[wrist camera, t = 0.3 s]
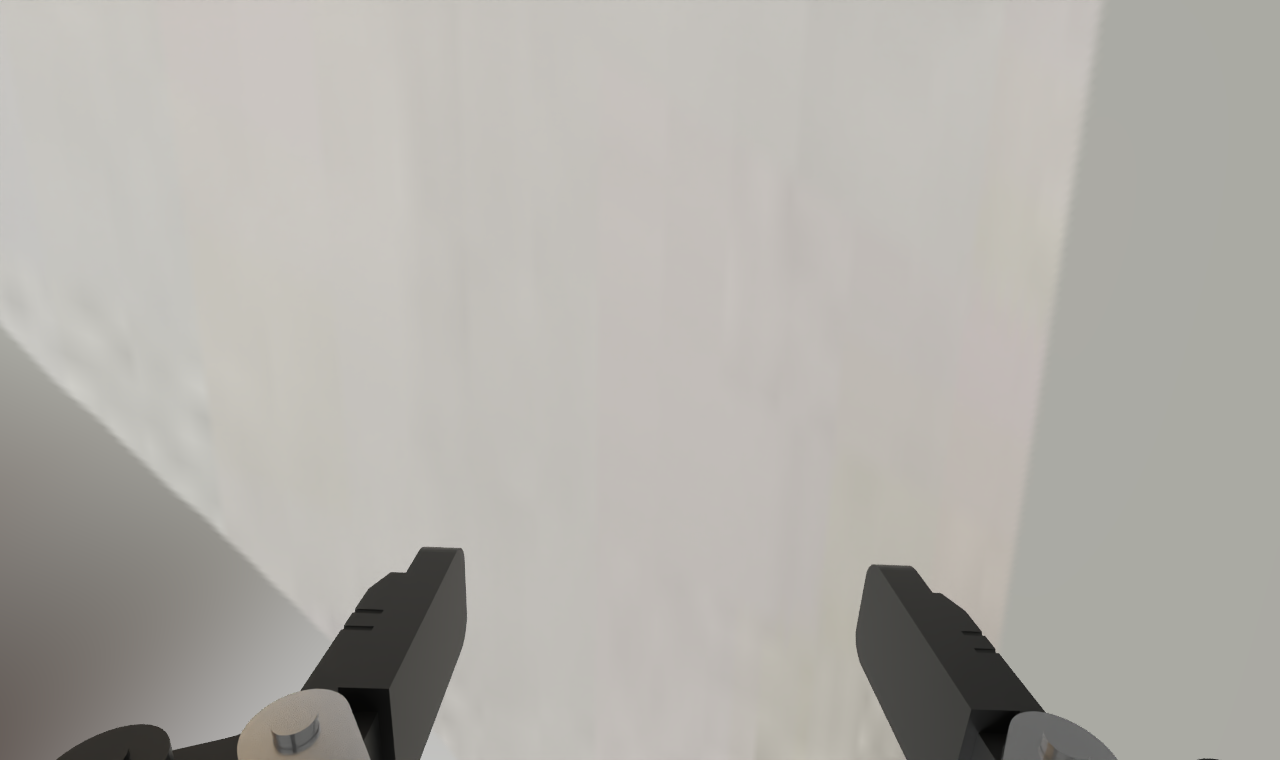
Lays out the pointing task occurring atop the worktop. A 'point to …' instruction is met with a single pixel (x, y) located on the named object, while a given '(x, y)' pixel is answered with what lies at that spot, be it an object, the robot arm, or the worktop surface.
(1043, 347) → the worktop surface
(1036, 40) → the worktop surface
